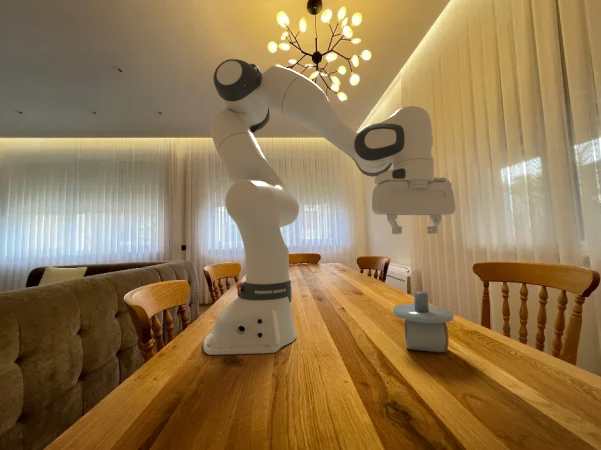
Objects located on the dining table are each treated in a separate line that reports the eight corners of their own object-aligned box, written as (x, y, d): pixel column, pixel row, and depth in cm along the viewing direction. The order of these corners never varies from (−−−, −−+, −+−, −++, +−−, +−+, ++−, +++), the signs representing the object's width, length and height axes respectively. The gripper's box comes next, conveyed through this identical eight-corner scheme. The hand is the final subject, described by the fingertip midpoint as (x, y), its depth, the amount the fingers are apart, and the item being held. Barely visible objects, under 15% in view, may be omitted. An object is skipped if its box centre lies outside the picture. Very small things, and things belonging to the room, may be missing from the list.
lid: (414, 325, 49) (413, 300, 49) (383, 309, 61) (382, 288, 61) (467, 320, 51) (466, 296, 51) (427, 305, 63) (426, 286, 63)
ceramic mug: (451, 359, 51) (449, 320, 51) (407, 354, 53) (405, 317, 54) (439, 340, 61) (437, 307, 61) (402, 336, 63) (401, 305, 64)
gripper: (441, 180, 66) (443, 233, 65) (368, 177, 62) (369, 234, 61) (461, 174, 60) (463, 233, 59) (381, 171, 56) (382, 234, 55)
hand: (414, 234), depth 60 cm, fingers open, 8 cm apart
